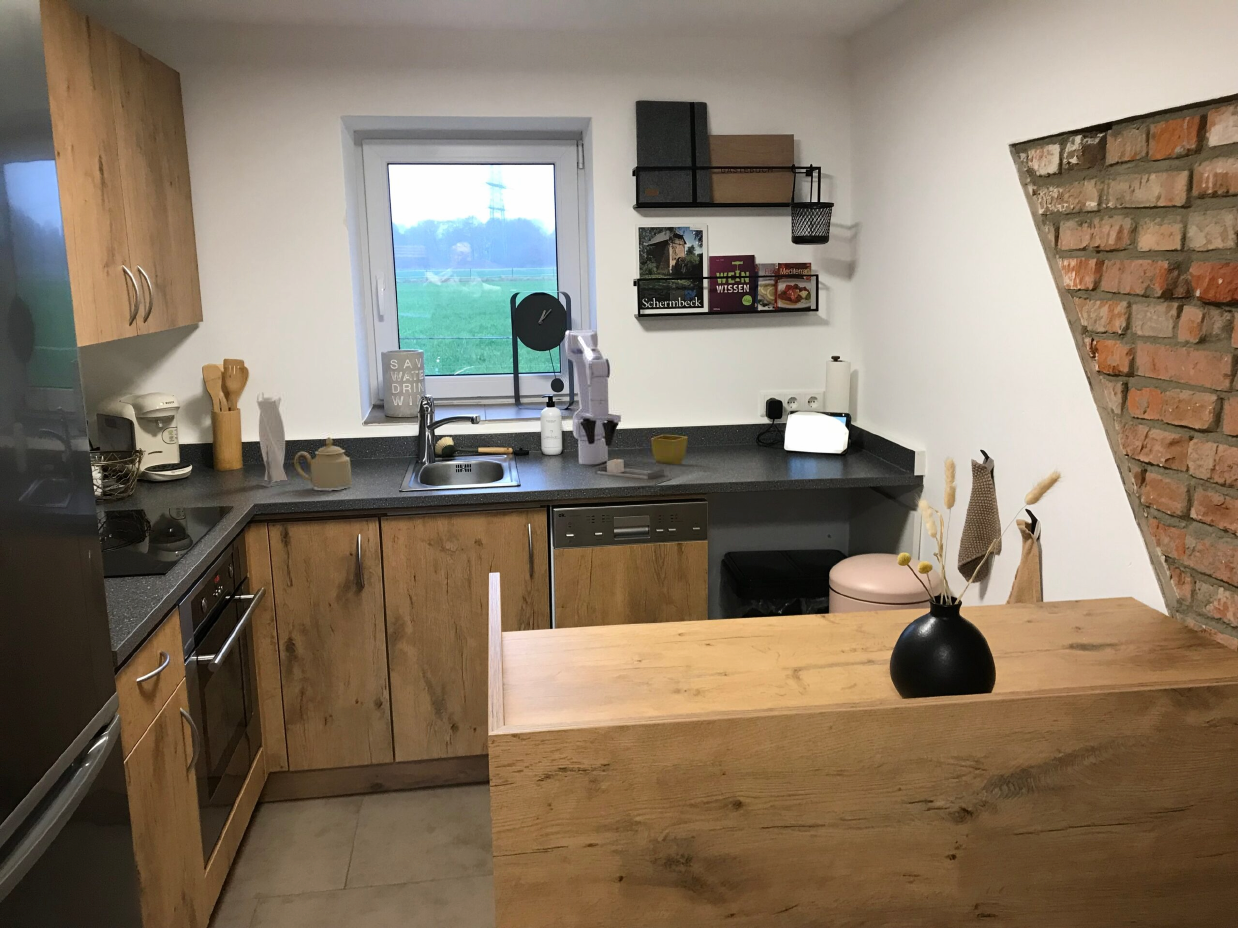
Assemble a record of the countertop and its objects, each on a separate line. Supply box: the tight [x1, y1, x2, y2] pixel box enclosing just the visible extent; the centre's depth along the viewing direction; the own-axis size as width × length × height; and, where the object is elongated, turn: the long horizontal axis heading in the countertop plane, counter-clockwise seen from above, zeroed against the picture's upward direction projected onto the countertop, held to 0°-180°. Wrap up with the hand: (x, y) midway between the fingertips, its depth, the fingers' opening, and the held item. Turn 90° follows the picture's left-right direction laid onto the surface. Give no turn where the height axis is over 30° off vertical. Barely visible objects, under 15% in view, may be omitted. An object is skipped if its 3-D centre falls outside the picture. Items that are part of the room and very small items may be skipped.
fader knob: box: [606, 458, 625, 474], centre depth 289 cm, size 4×3×4 cm
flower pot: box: [650, 434, 689, 466], centre depth 306 cm, size 9×9×9 cm
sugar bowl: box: [294, 436, 352, 488], centre depth 282 cm, size 15×11×15 cm
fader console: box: [594, 463, 672, 486], centre depth 287 cm, size 9×24×3 cm, turn 55°
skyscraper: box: [256, 391, 288, 484], centre depth 290 cm, size 8×8×28 cm
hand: (600, 444), depth 291 cm, fingers open, 6 cm apart
